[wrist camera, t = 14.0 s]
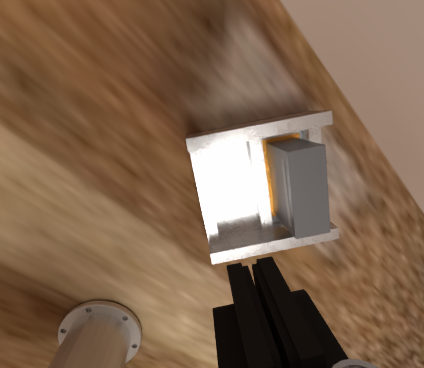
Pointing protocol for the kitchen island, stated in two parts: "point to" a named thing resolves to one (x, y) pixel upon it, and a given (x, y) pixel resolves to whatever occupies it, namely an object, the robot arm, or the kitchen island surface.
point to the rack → (247, 185)
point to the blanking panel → (299, 186)
